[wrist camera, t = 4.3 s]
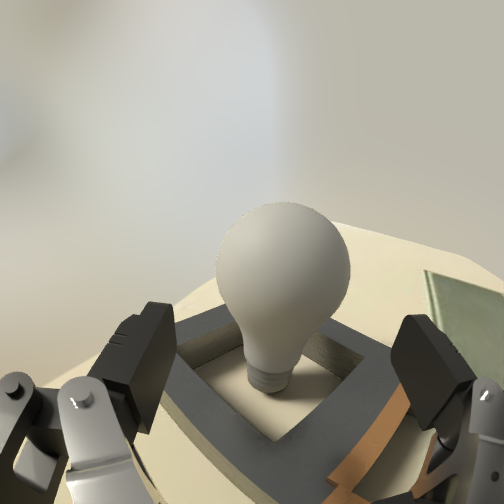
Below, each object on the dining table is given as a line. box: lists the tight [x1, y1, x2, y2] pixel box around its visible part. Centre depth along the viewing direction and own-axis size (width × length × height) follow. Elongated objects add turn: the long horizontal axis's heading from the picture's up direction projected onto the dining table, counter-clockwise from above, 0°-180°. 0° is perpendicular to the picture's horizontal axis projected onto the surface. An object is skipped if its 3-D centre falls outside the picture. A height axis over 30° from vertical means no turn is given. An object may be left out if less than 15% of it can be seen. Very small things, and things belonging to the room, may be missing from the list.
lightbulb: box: [216, 202, 350, 393], centre depth 13 cm, size 6×6×11 cm
